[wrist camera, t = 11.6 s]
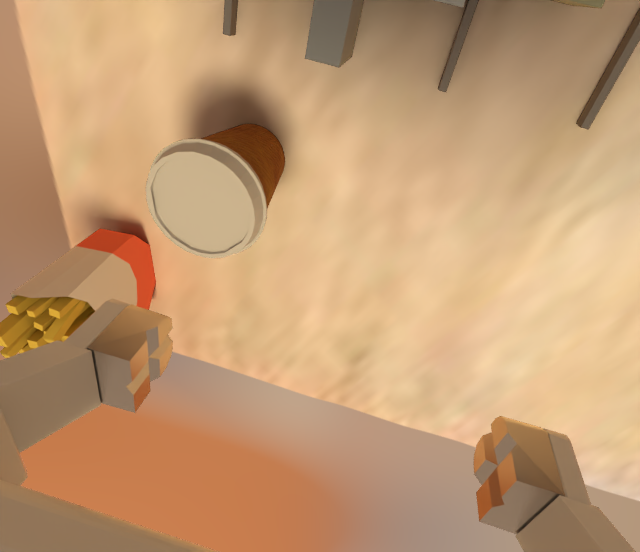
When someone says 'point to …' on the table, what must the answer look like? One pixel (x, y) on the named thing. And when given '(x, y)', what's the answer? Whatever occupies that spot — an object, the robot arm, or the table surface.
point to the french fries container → (77, 290)
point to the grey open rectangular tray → (338, 29)
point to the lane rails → (633, 35)
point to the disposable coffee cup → (215, 189)
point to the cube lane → (583, 3)
